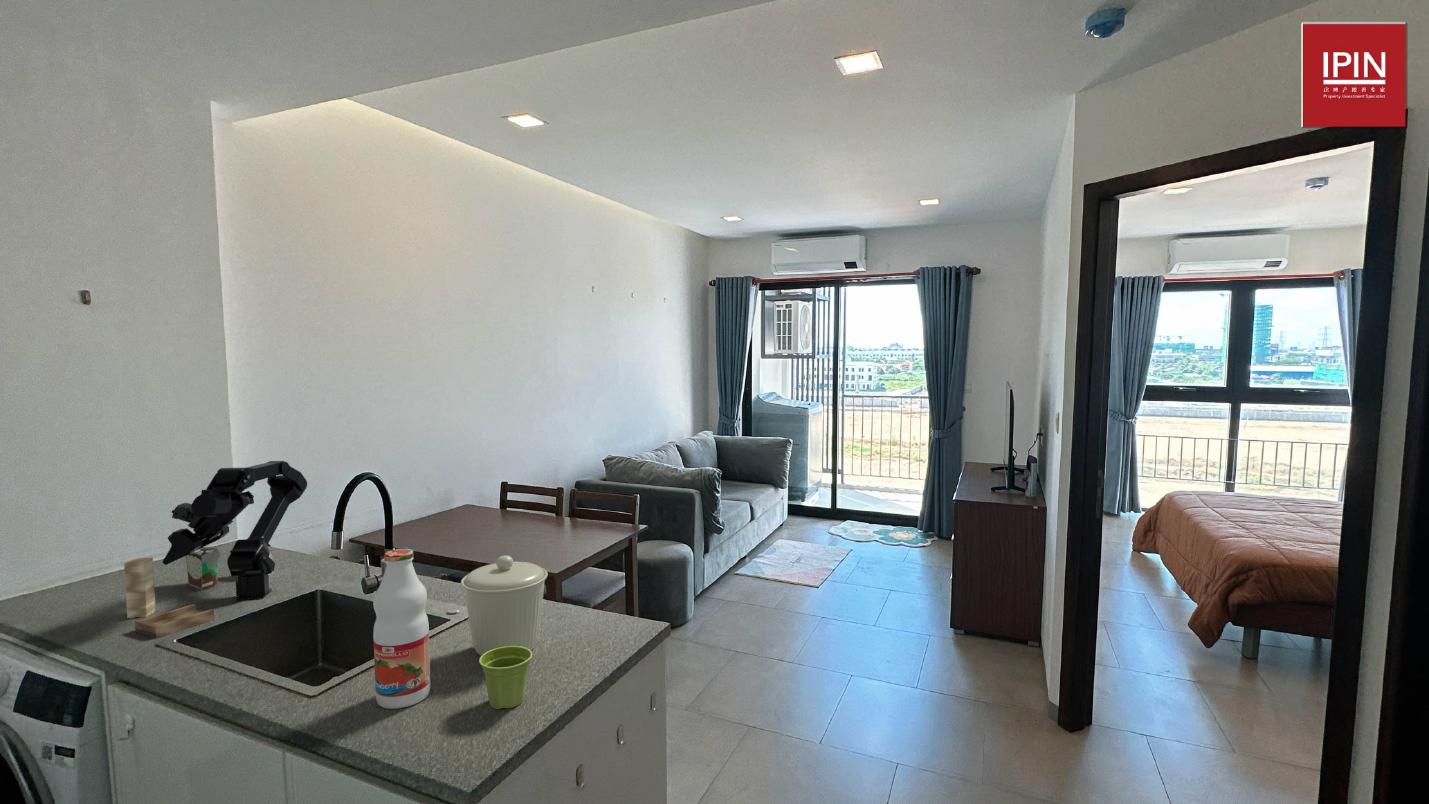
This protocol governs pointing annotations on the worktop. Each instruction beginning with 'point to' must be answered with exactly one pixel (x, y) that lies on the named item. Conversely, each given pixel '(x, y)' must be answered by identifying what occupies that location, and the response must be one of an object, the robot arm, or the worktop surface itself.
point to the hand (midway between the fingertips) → (174, 558)
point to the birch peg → (139, 587)
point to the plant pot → (506, 675)
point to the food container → (203, 567)
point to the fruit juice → (401, 634)
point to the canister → (504, 604)
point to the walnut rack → (173, 621)
